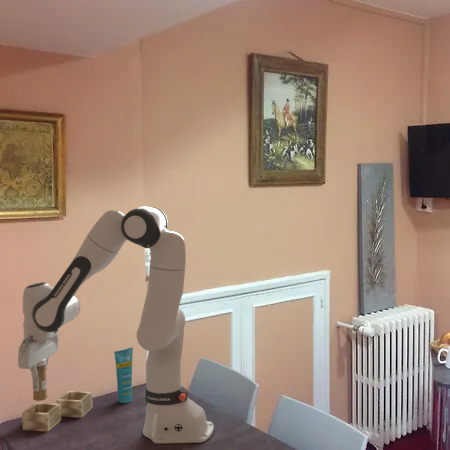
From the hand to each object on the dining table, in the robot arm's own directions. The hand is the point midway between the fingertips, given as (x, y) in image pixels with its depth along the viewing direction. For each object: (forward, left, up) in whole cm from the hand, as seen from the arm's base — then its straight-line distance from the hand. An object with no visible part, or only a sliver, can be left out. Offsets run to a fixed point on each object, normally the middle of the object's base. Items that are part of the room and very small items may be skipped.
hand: (39, 373), depth 194 cm
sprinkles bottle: (0, 0, -9) cm, 9 cm away
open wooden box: (-6, -12, -17) cm, 22 cm away
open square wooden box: (0, 0, -17) cm, 17 cm away
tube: (-20, -24, -18) cm, 36 cm away
